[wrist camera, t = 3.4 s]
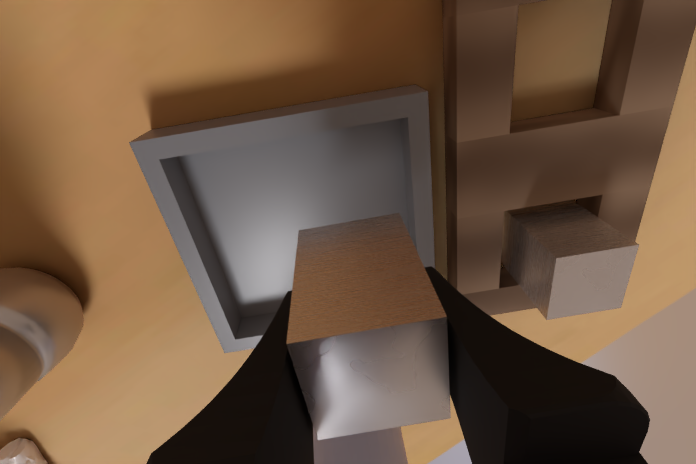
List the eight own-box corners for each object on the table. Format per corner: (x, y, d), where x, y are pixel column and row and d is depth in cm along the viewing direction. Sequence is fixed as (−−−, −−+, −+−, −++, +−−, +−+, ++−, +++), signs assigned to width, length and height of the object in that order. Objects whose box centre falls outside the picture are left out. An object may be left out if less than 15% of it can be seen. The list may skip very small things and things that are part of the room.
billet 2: (556, 248, 25) (620, 307, 19) (498, 258, 25) (546, 319, 19) (565, 195, 23) (638, 244, 17) (501, 206, 23) (556, 258, 17)
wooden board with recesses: (599, 276, 26) (620, 294, 24) (448, 301, 26) (457, 320, 24) (685, -82, 16) (729, -96, 14) (441, -39, 16) (456, -48, 15)
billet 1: (407, 293, 16) (450, 418, 11) (318, 308, 16) (318, 440, 11) (399, 212, 14) (447, 316, 9) (298, 230, 14) (286, 344, 9)
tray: (426, 293, 26) (437, 318, 23) (232, 325, 26) (224, 353, 24) (415, 84, 19) (428, 91, 17) (151, 129, 19) (129, 142, 17)
